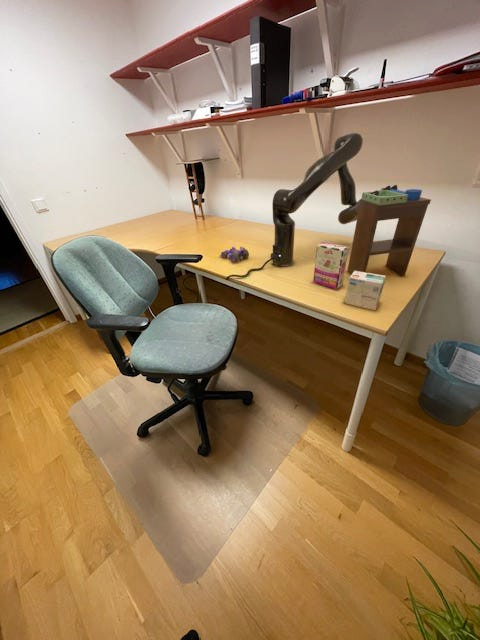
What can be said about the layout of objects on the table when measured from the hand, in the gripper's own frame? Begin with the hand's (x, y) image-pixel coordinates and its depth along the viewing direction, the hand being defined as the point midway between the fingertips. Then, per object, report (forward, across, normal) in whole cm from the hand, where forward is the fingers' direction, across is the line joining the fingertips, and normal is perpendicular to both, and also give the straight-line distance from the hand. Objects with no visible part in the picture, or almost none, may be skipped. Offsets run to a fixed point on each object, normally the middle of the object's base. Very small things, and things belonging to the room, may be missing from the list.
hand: (393, 187), depth 101 cm
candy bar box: (-5, -29, +34) cm, 45 cm away
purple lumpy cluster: (-41, -63, +13) cm, 77 cm away
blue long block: (+2, 0, +4) cm, 5 cm away
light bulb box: (+10, -24, +43) cm, 50 cm away
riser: (-8, -6, +33) cm, 34 cm away
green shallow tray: (+7, -10, +7) cm, 14 cm away
